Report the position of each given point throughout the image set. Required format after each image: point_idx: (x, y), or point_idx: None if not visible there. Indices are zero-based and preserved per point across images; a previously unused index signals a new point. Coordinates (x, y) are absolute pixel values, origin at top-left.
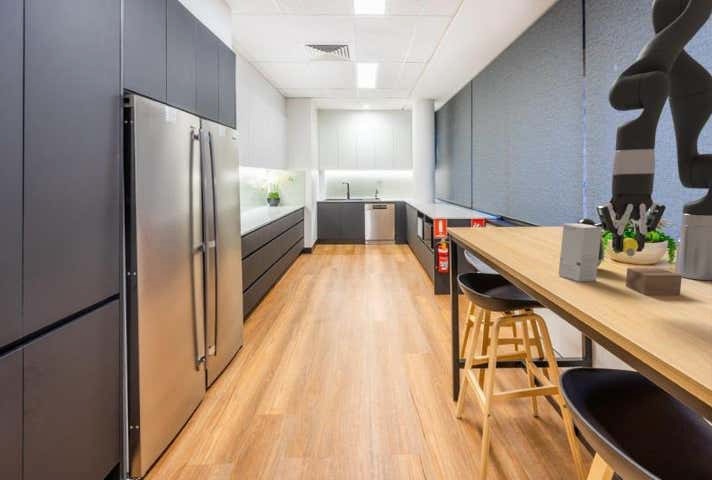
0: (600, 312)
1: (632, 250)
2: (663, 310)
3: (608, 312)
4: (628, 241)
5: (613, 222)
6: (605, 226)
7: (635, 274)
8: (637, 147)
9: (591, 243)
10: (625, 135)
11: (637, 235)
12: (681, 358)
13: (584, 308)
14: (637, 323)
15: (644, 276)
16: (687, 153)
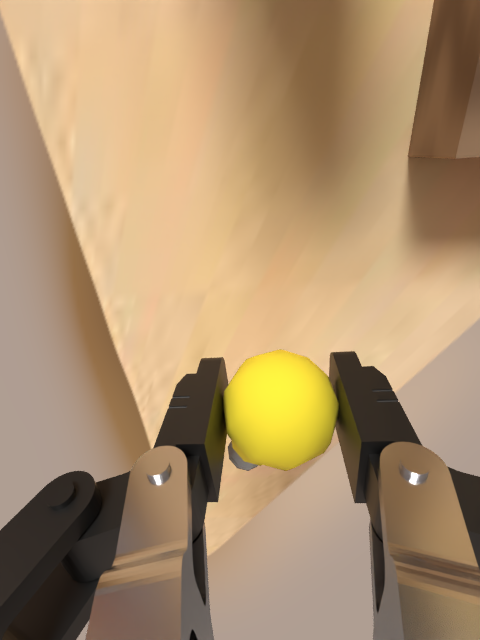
0: (160, 367)
1: (251, 467)
2: (334, 344)
3: (180, 366)
4: (257, 462)
5: (109, 573)
6: (37, 537)
7: (473, 30)
8: None
9: None
10: None
11: (355, 473)
12: (207, 530)
13: (128, 339)
14: None
15: (453, 143)
16: None
